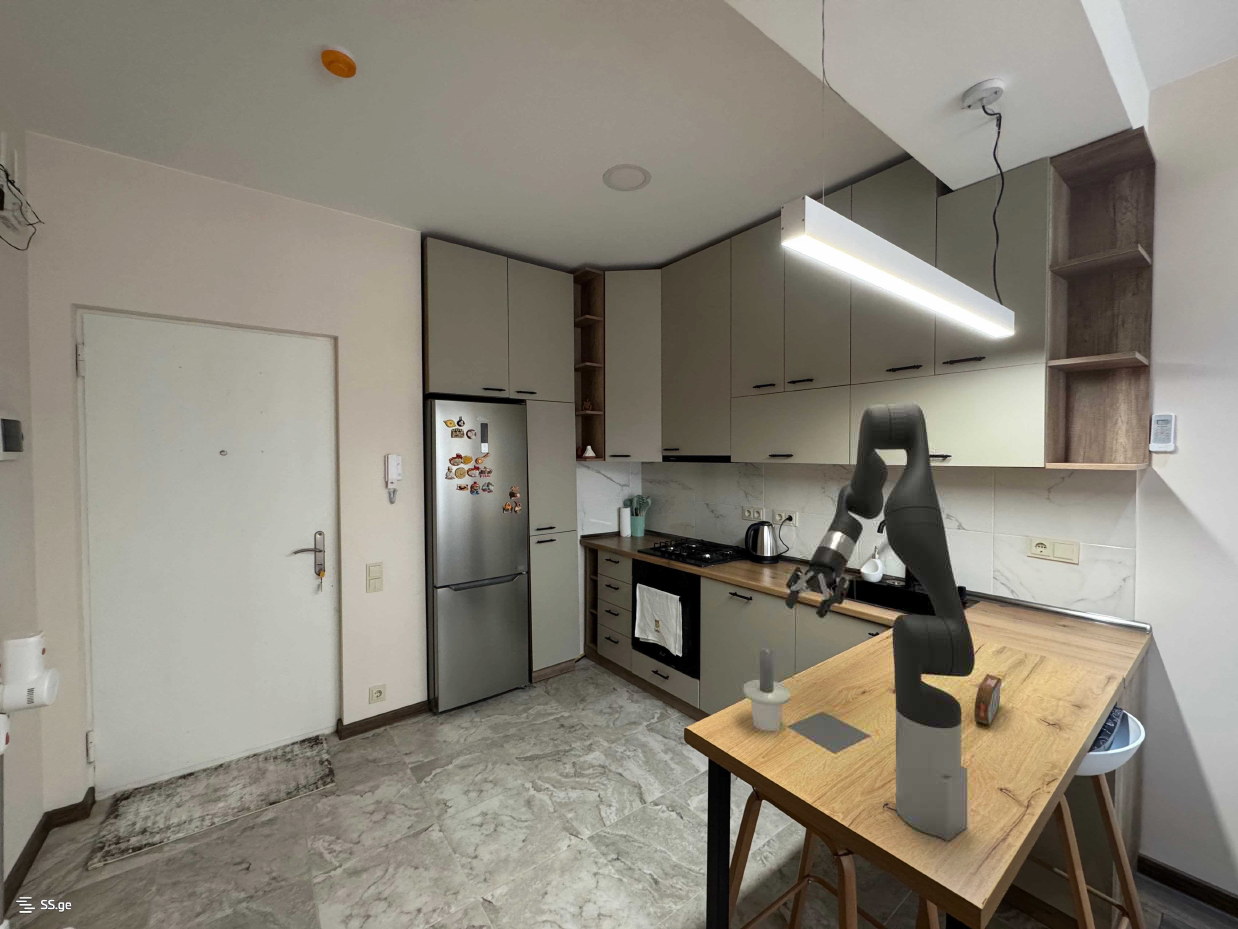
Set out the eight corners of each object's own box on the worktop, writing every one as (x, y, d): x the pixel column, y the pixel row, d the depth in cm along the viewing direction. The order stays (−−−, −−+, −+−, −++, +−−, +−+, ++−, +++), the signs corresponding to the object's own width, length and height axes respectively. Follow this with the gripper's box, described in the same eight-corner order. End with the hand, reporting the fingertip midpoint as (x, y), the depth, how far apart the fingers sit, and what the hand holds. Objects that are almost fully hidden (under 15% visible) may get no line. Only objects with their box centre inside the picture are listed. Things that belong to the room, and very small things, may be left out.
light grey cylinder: (761, 736, 108) (760, 703, 108) (744, 720, 115) (744, 689, 115) (789, 731, 110) (789, 699, 110) (771, 715, 116) (771, 685, 116)
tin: (986, 702, 121) (986, 667, 121) (1003, 707, 119) (1003, 671, 119) (972, 727, 111) (972, 689, 110) (990, 732, 108) (990, 693, 108)
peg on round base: (800, 697, 110) (800, 652, 110) (768, 710, 105) (767, 662, 105) (765, 680, 119) (765, 638, 119) (734, 691, 114) (733, 646, 114)
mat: (871, 737, 107) (871, 735, 107) (834, 755, 101) (834, 753, 101) (822, 712, 117) (822, 711, 117) (786, 727, 111) (786, 726, 111)
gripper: (800, 541, 127) (770, 595, 122) (852, 549, 115) (821, 610, 109) (815, 558, 130) (787, 612, 125) (867, 568, 118) (838, 628, 112)
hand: (803, 611), depth 117 cm, fingers open, 8 cm apart
